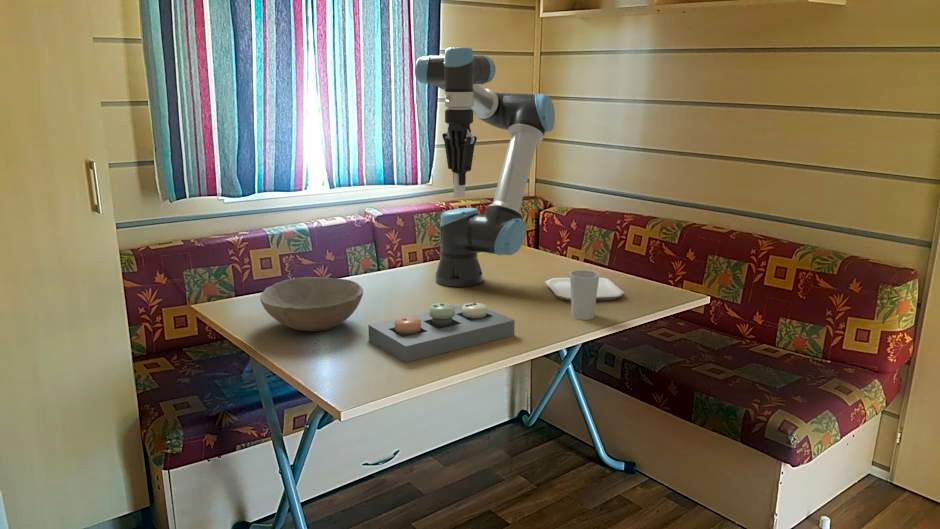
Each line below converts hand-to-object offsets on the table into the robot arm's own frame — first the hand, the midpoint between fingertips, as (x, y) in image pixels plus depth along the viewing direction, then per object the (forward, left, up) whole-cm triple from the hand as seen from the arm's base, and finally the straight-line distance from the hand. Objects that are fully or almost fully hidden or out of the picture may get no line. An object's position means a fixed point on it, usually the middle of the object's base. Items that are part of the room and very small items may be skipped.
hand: (459, 196), depth 199 cm
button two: (+18, -17, -29) cm, 38 cm away
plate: (+10, +40, -32) cm, 52 cm away
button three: (+18, -7, -30) cm, 36 cm away
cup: (+26, +24, -32) cm, 47 cm away
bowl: (-8, -40, -32) cm, 52 cm away
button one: (+18, -27, -30) cm, 45 cm away
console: (+18, -17, -32) cm, 40 cm away
